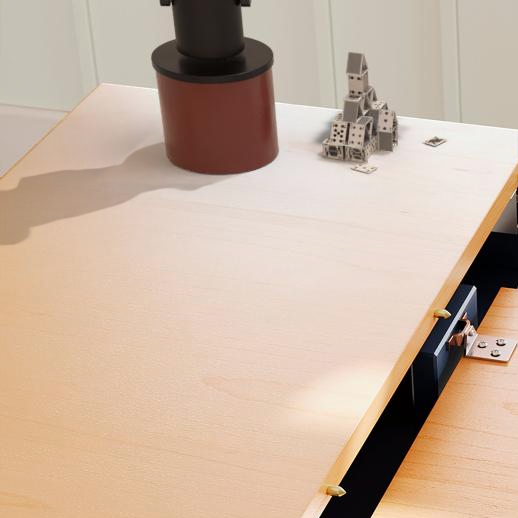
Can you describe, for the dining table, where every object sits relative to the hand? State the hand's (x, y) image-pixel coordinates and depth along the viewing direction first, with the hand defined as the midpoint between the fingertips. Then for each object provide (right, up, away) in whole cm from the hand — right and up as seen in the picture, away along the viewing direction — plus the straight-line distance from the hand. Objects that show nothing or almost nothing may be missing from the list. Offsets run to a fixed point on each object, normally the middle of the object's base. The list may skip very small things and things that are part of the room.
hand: (206, 2), depth 119 cm
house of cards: (+12, -9, +9) cm, 18 cm away
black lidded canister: (0, -3, +2) cm, 3 cm away
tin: (-1, -9, +8) cm, 12 cm away
